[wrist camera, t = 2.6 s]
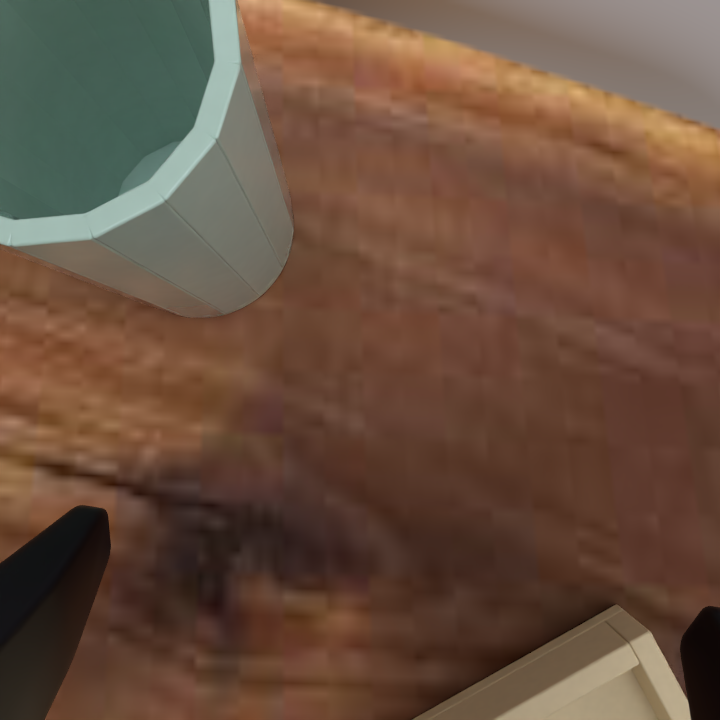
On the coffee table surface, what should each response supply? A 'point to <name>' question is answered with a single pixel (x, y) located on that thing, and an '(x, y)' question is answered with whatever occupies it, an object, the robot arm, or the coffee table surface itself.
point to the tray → (578, 679)
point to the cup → (141, 151)
